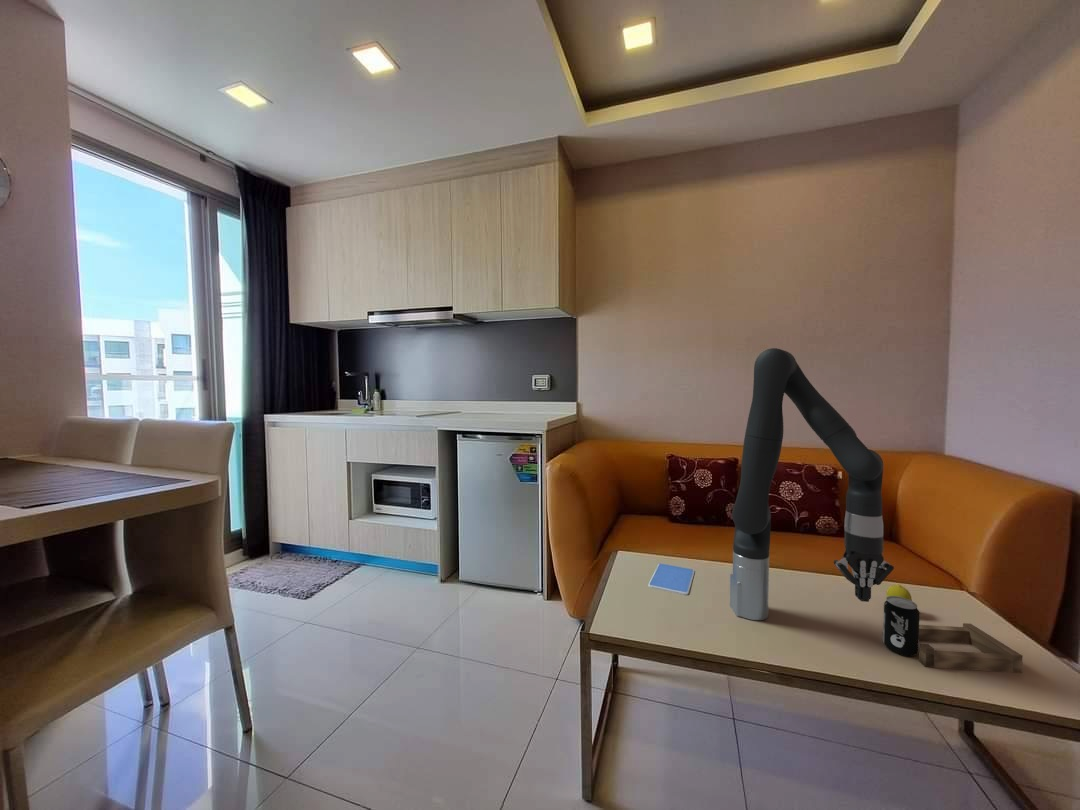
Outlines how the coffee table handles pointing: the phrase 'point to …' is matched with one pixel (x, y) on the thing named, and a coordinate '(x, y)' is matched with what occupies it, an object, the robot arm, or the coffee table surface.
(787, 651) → the coffee table surface
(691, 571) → the tablet computer
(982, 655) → the cradle
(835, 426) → the robot arm
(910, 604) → the beverage can
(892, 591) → the lemon
